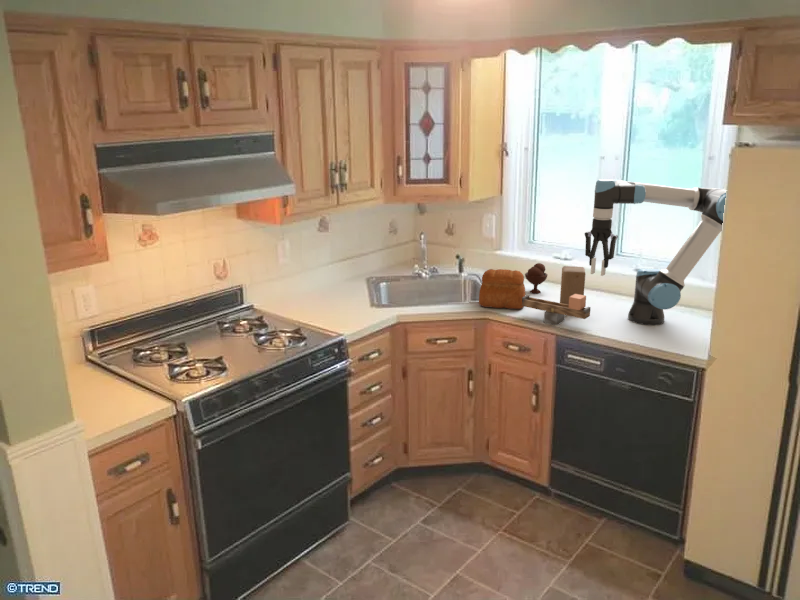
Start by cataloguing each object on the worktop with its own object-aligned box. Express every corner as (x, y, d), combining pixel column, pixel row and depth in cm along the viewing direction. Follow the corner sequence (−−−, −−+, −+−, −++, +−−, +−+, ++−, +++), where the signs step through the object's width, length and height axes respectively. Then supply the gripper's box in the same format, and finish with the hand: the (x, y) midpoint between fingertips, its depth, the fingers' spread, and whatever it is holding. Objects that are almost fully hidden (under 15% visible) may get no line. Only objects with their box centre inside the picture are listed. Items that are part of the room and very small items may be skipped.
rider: (585, 309, 293) (586, 295, 292) (579, 313, 289) (580, 299, 287) (574, 307, 296) (575, 293, 295) (568, 310, 292) (569, 296, 290)
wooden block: (582, 314, 310) (585, 272, 304) (559, 313, 312) (562, 271, 306) (581, 308, 319) (584, 266, 313) (559, 306, 321) (562, 265, 315)
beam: (590, 326, 295) (591, 306, 292) (582, 331, 289) (584, 310, 286) (528, 312, 313) (529, 294, 310) (519, 317, 307) (520, 298, 304)
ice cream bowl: (532, 288, 352) (534, 259, 347) (550, 292, 344) (552, 263, 339) (519, 292, 345) (521, 263, 340) (537, 296, 337) (539, 267, 333)
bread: (523, 311, 315) (525, 276, 310) (477, 308, 319) (478, 274, 314) (525, 300, 331) (527, 267, 326) (481, 298, 336) (482, 264, 331)
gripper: (626, 219, 274) (621, 275, 281) (586, 214, 284) (582, 269, 291) (619, 221, 268) (614, 279, 275) (579, 217, 278) (574, 272, 285)
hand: (597, 274), depth 283 cm, fingers open, 4 cm apart
